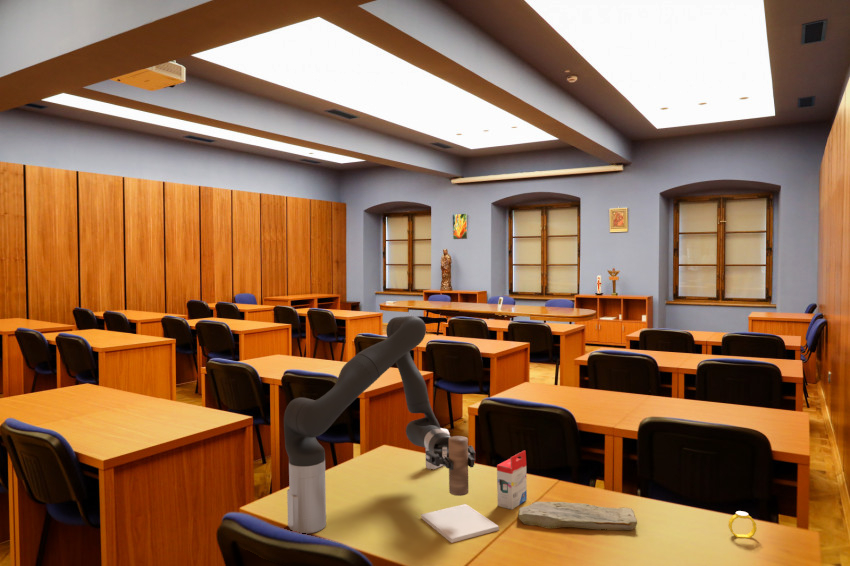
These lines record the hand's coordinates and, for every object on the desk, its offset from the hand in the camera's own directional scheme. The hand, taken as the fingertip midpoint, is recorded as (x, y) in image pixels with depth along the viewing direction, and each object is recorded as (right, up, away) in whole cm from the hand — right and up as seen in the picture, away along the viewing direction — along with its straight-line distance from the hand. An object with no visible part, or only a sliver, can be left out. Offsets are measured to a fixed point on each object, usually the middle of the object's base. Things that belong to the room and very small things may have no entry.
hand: (462, 464), depth 147 cm
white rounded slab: (-5, -16, +48) cm, 51 cm away
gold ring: (+68, -16, -6) cm, 71 cm away
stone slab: (+30, -17, +4) cm, 35 cm away
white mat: (-1, -16, +3) cm, 17 cm away
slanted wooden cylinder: (-1, -8, +3) cm, 8 cm away
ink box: (+15, -16, +16) cm, 27 cm away
